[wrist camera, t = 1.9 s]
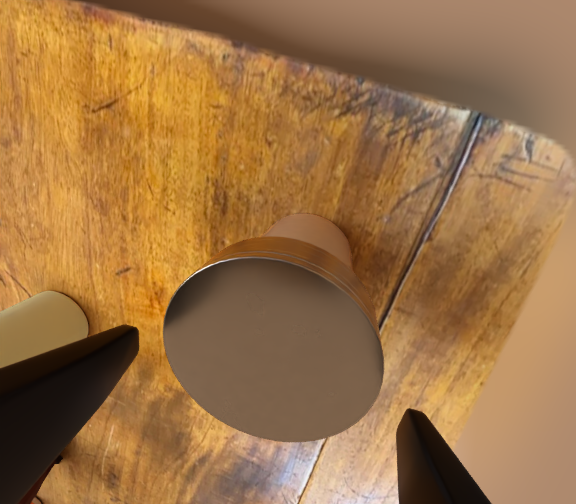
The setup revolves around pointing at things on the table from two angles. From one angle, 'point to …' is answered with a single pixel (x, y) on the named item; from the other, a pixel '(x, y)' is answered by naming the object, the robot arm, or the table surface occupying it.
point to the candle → (39, 326)
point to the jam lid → (276, 340)
